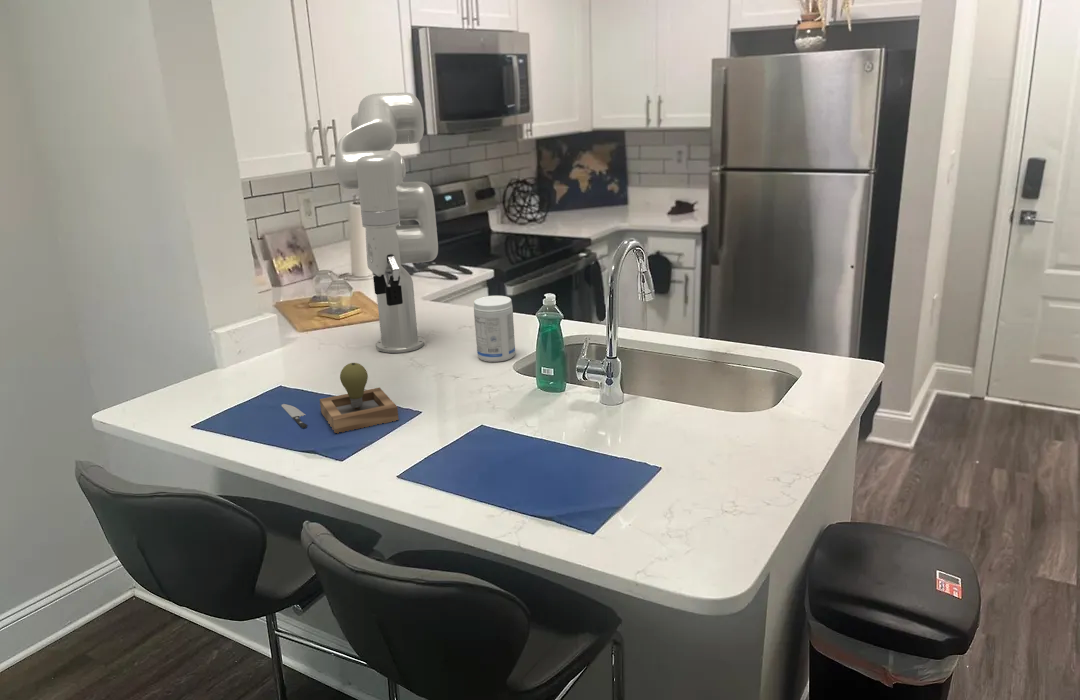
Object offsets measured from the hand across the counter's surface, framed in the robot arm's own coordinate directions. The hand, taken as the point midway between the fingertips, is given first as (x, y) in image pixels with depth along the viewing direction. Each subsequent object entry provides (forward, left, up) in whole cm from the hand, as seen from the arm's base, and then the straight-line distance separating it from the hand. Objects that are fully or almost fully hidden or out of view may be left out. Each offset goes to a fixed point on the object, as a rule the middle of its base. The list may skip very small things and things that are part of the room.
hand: (388, 298), depth 170 cm
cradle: (+5, -10, -23) cm, 25 cm away
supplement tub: (-15, +30, -23) cm, 41 cm away
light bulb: (+4, -10, -22) cm, 24 cm away
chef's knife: (-4, -21, -23) cm, 32 cm away
